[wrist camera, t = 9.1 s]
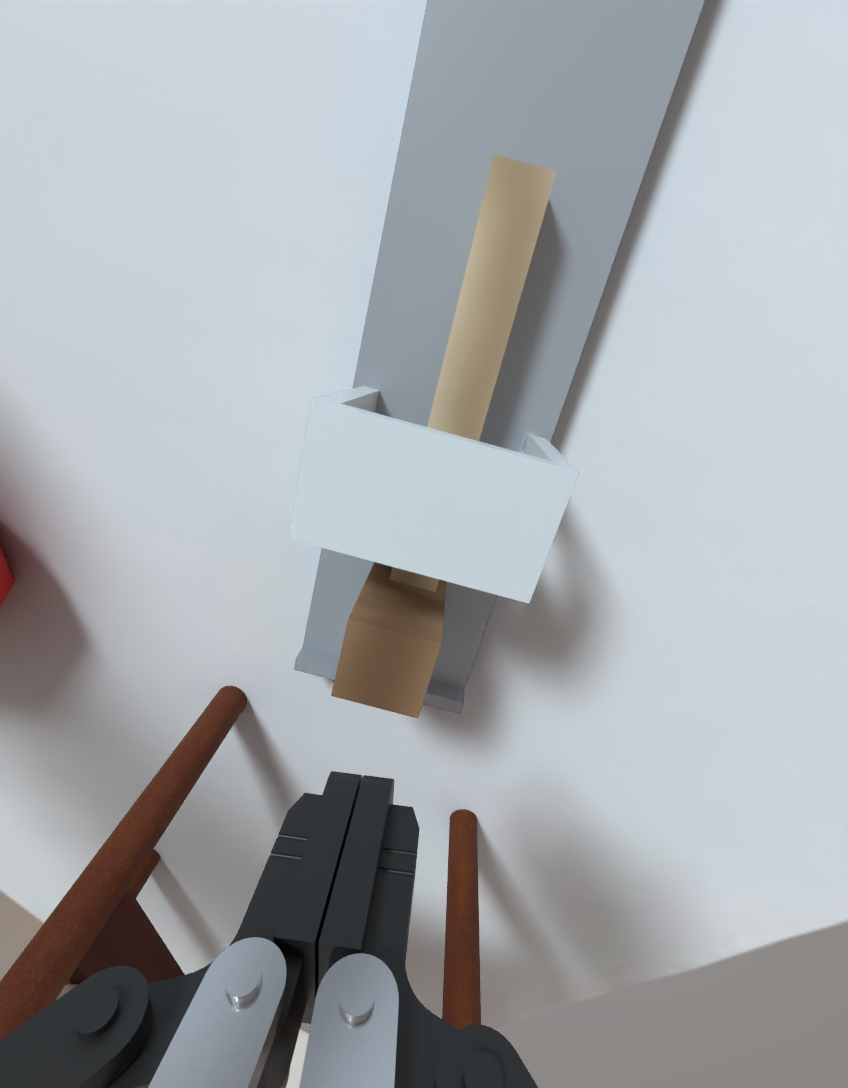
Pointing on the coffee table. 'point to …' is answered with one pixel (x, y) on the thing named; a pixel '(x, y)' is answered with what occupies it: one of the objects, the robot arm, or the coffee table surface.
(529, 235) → the beech dowel
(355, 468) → the grey pocketed tray
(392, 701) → the walnut block
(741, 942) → the coffee table surface
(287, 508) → the coffee table surface
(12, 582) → the apple
